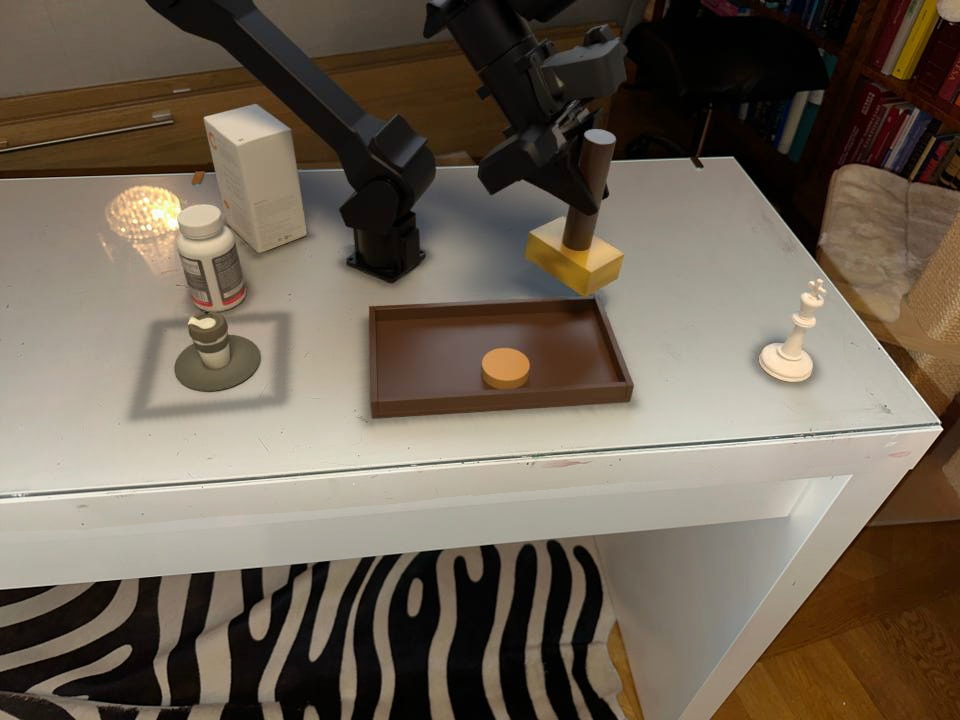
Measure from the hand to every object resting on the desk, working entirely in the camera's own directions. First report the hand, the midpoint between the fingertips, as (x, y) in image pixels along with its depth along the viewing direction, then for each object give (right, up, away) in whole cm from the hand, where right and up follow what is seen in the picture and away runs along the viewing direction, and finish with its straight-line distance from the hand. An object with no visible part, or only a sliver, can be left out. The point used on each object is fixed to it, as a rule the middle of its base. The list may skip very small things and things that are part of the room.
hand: (599, 206), depth 68 cm
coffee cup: (-36, -14, +2) cm, 38 cm away
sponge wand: (-2, -5, +6) cm, 8 cm away
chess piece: (+19, -15, +4) cm, 24 cm away
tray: (-10, -14, +3) cm, 17 cm away
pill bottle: (-38, -8, +9) cm, 40 cm away
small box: (-36, +1, +18) cm, 40 cm away
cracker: (-9, -15, +1) cm, 18 cm away
